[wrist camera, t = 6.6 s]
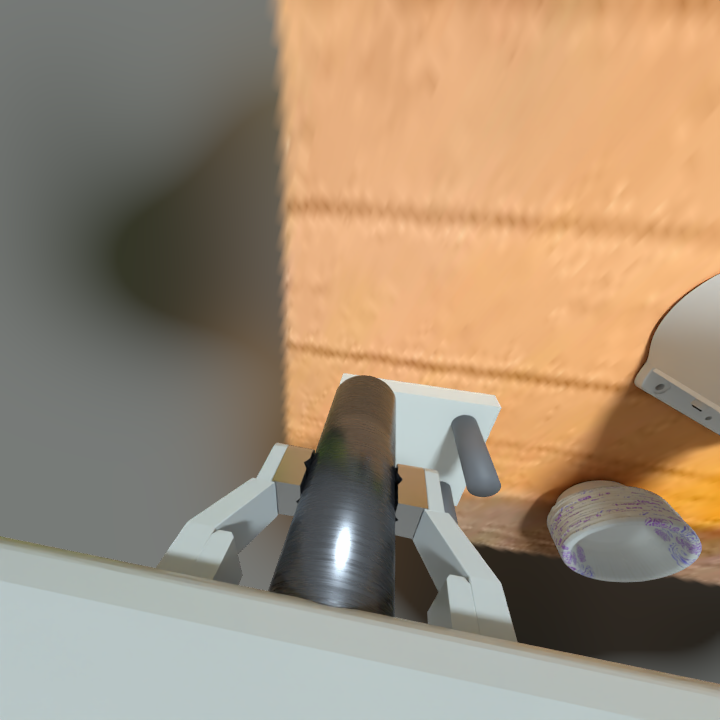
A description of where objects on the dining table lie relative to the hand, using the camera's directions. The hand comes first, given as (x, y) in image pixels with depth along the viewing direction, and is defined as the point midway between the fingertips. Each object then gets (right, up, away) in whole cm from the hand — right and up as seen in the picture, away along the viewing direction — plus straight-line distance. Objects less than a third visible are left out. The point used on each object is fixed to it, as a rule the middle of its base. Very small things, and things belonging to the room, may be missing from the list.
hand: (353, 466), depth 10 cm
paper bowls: (+36, -18, +31) cm, 51 cm away
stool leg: (0, +2, +4) cm, 4 cm away
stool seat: (+7, -8, +30) cm, 32 cm away
